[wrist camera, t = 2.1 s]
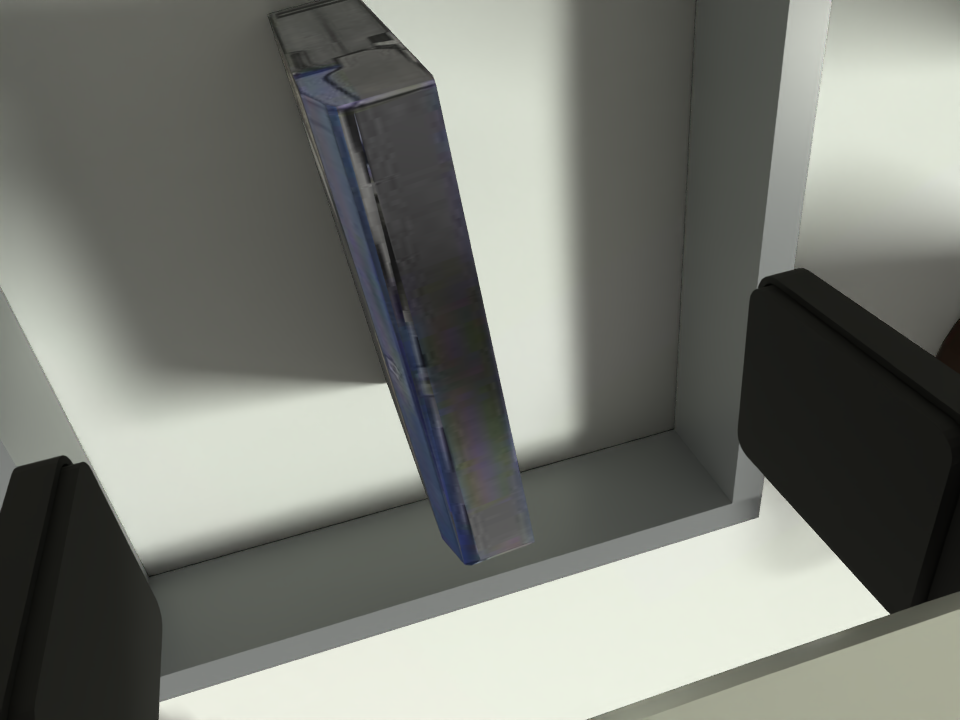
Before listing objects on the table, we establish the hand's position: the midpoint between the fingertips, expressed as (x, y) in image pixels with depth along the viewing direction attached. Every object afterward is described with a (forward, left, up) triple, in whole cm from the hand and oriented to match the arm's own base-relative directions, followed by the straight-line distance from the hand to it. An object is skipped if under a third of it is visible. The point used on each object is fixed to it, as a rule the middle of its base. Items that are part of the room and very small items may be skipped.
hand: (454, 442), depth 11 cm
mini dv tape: (-1, 0, -7) cm, 7 cm away
